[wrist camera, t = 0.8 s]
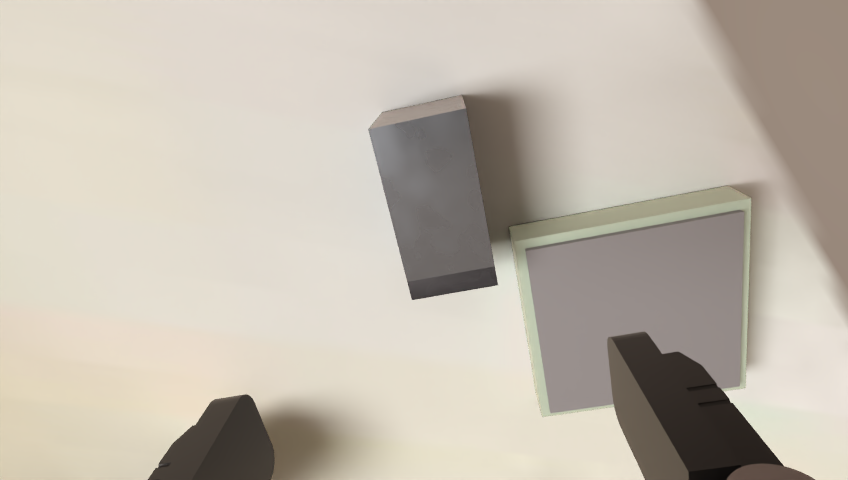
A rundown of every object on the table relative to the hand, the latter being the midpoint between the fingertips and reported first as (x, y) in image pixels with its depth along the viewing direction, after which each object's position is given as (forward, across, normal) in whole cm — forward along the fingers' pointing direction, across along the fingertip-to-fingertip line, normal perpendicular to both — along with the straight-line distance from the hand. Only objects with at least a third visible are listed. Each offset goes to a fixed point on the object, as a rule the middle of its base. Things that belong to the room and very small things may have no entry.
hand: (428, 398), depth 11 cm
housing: (+22, 0, +1) cm, 22 cm away
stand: (+22, -11, +12) cm, 28 cm away
